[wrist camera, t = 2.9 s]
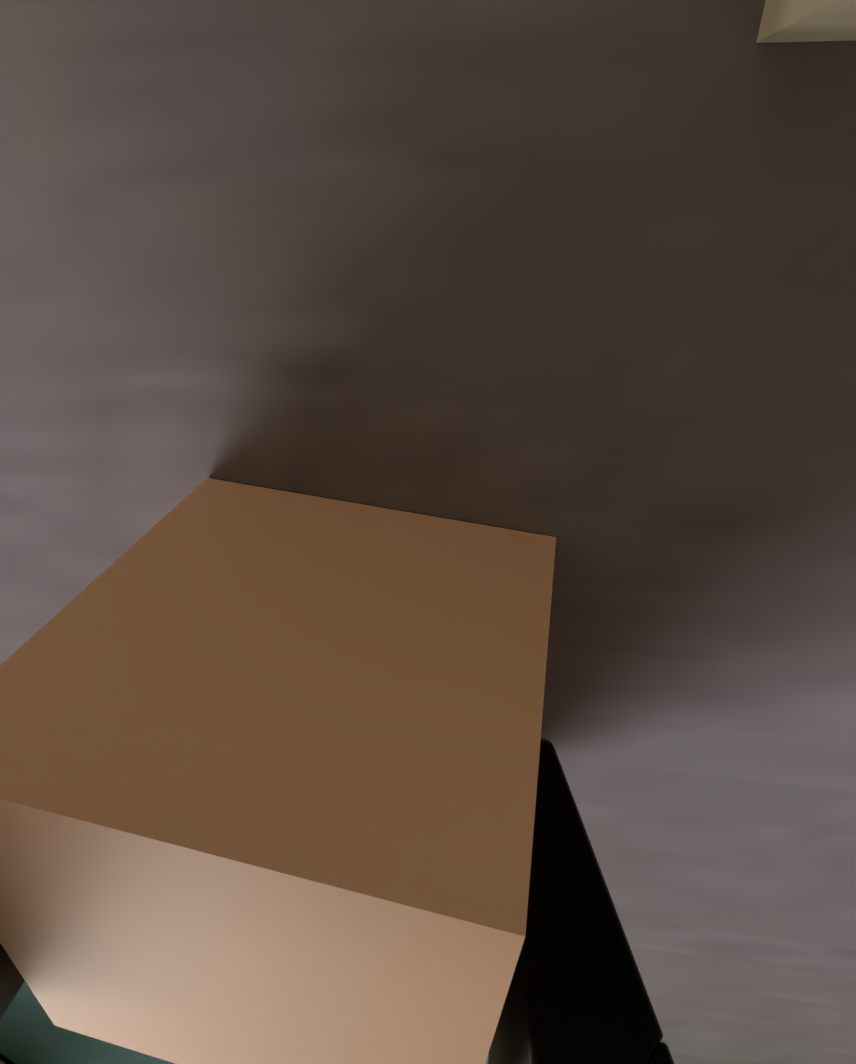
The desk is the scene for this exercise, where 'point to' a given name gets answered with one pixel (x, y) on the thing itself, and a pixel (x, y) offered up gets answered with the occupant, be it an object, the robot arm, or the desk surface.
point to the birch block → (807, 21)
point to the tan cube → (280, 784)
